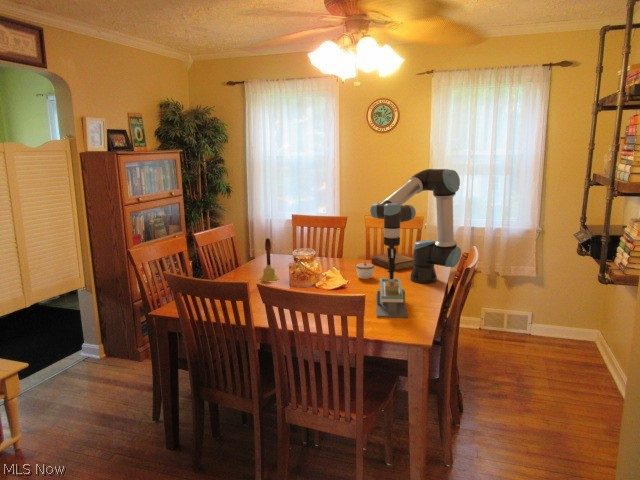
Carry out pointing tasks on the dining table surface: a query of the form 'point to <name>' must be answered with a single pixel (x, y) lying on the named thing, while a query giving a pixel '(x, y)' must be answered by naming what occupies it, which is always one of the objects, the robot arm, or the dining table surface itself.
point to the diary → (400, 261)
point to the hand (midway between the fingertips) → (391, 284)
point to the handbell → (268, 265)
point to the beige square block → (391, 289)
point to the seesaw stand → (391, 307)
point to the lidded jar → (365, 270)
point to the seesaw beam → (390, 298)
